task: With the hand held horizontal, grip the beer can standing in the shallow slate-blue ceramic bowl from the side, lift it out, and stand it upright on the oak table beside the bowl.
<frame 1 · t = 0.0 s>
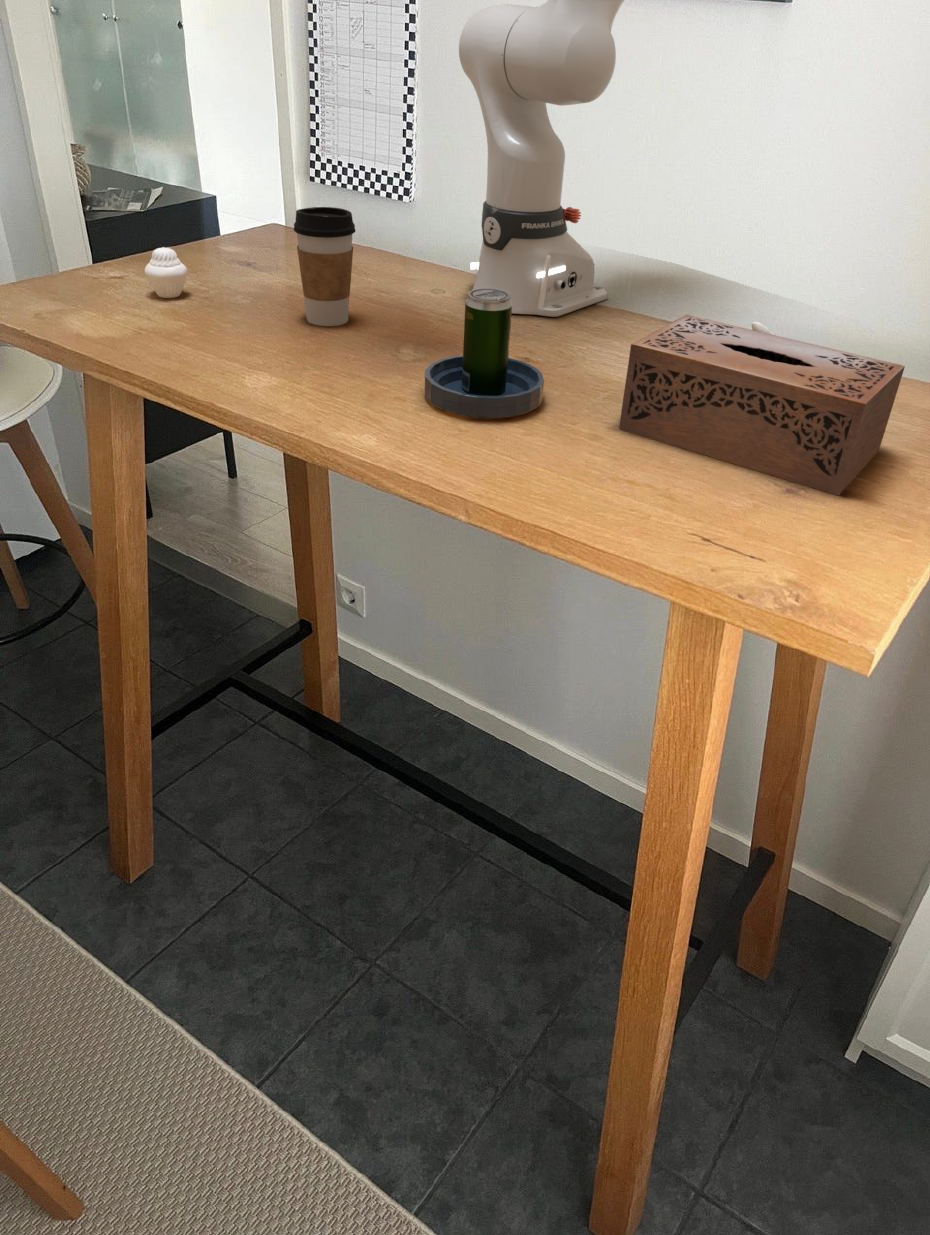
muffin: (169, 296, 148), on the table
bowl: (483, 398, 119), on the table
coffee cup: (327, 321, 141), on the table
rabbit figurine: (764, 368, 134), on the table
tissue box cover: (747, 441, 113), on the table
beer can: (483, 396, 119), resting on bowl
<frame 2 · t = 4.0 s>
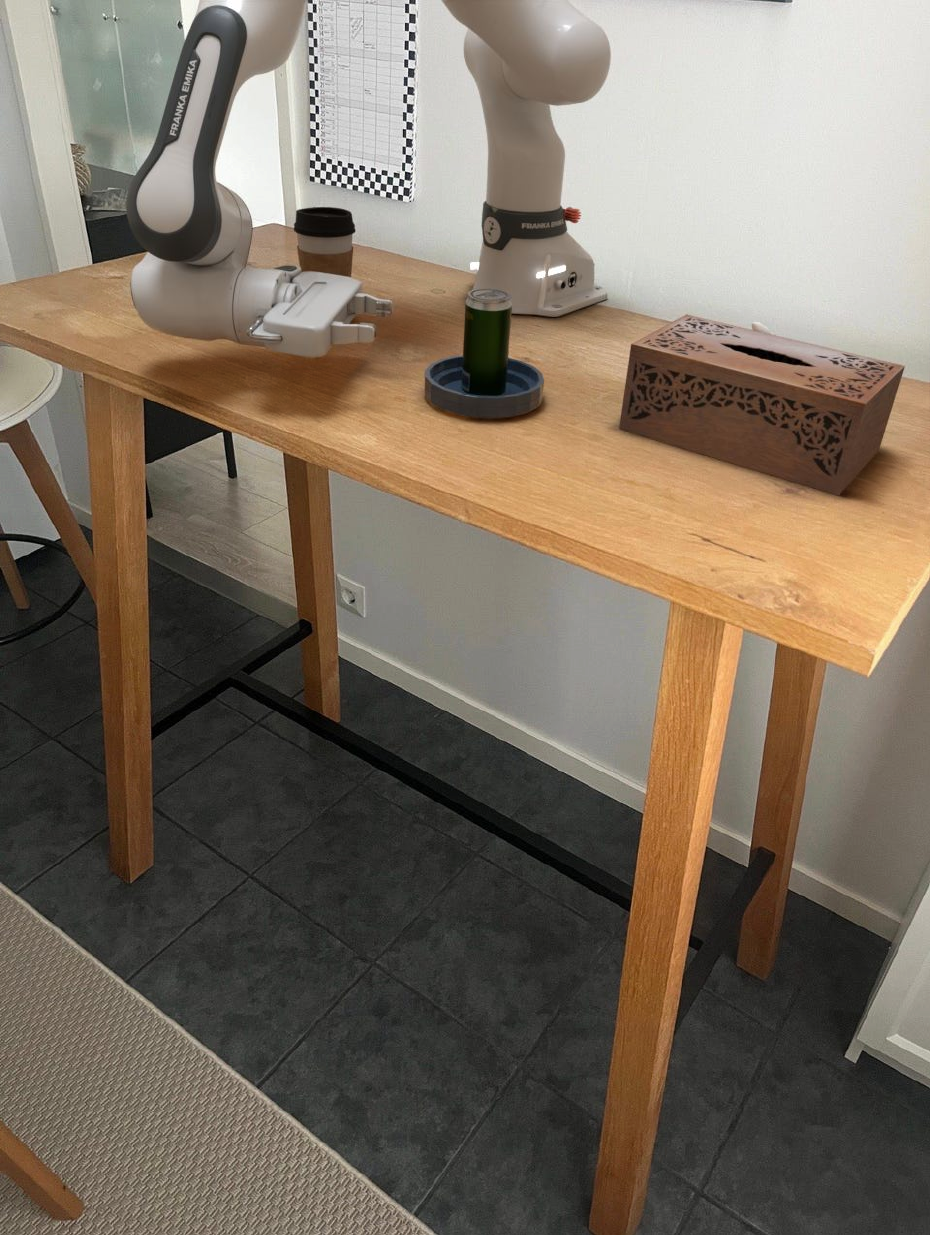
hand: (383, 321, 116), 8 cm above the table, tool horizontal, fingers open, 8 cm apart
nothing on the table moved.
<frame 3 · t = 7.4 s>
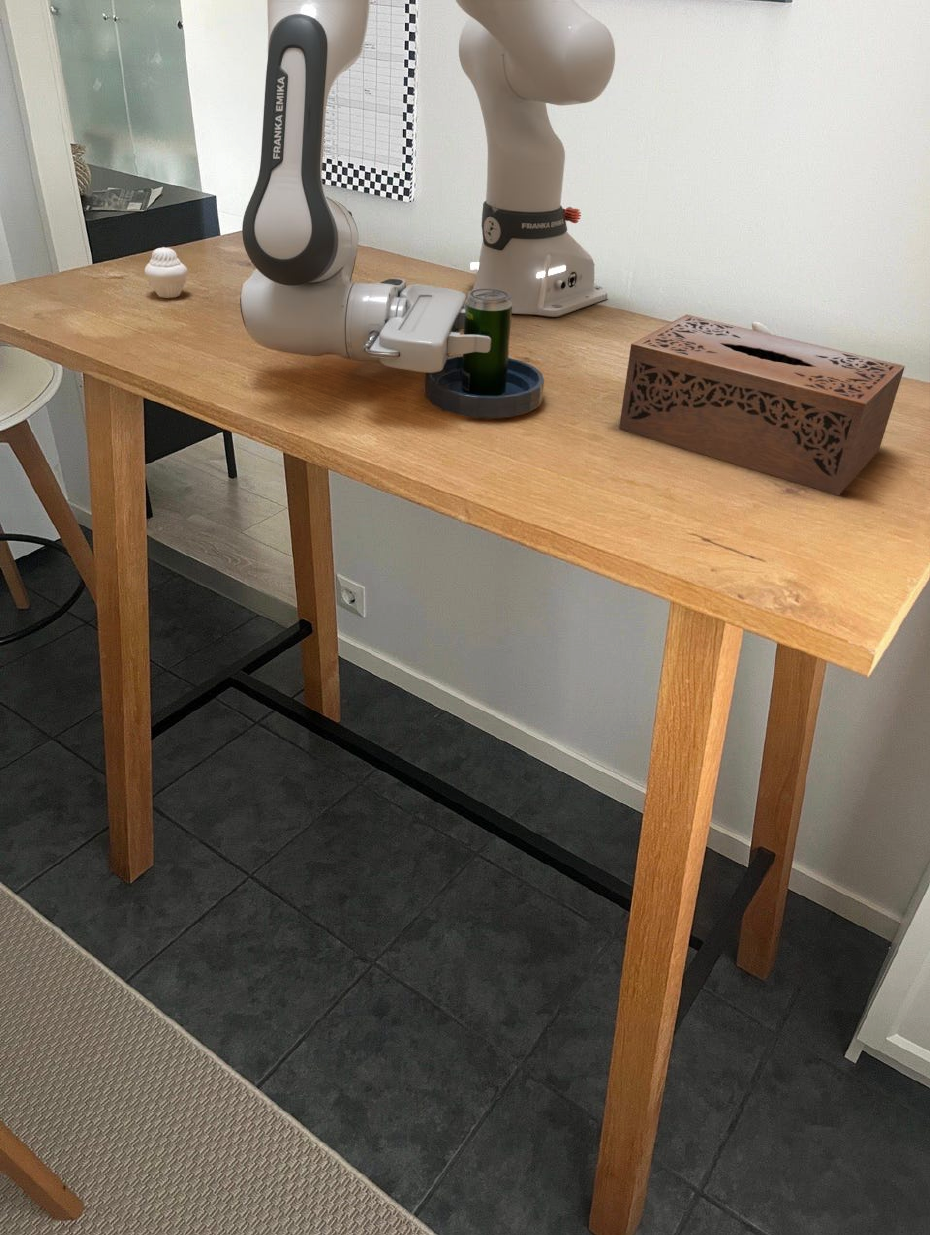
hand: (494, 334, 115), 8 cm above the table, tool horizontal, fingers closed on beer can, 5 cm apart
beer can: (483, 396, 119), resting on bowl, touching gripper
everything else where it was.
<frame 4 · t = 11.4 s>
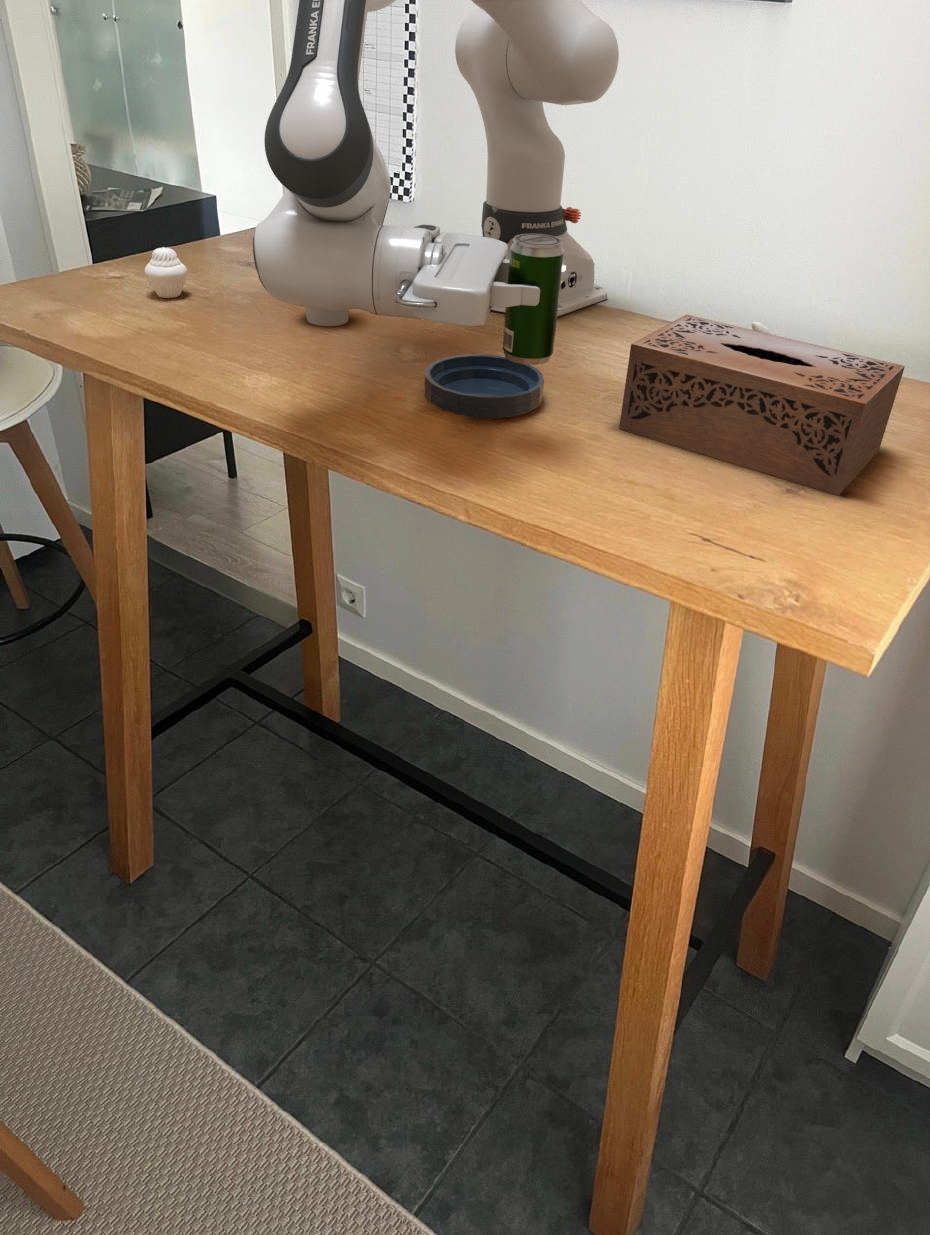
hand: (542, 286, 100), 17 cm above the table, tool horizontal, fingers closed on beer can, 5 cm apart
beer can: (527, 358, 105), point 9 cm above the table, touching gripper
everything else where it was.
when the fingers open (8 cm above the table, at t = 15.5 s): beer can stays where it is, on the table.
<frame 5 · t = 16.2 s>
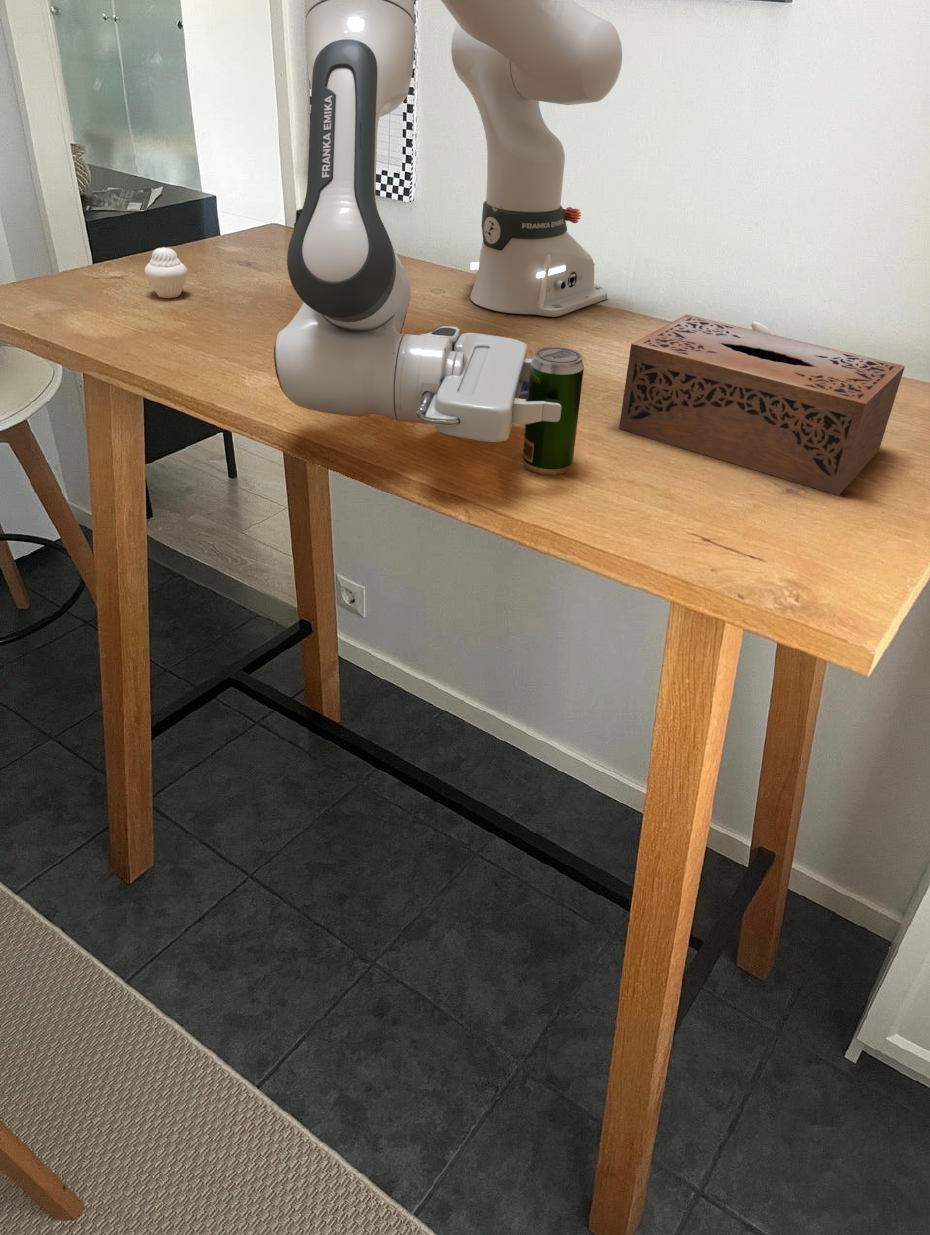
hand: (564, 393, 100), 8 cm above the table, tool horizontal, fingers open, 8 cm apart
beer can: (546, 466, 105), on the table
everything else where it was.
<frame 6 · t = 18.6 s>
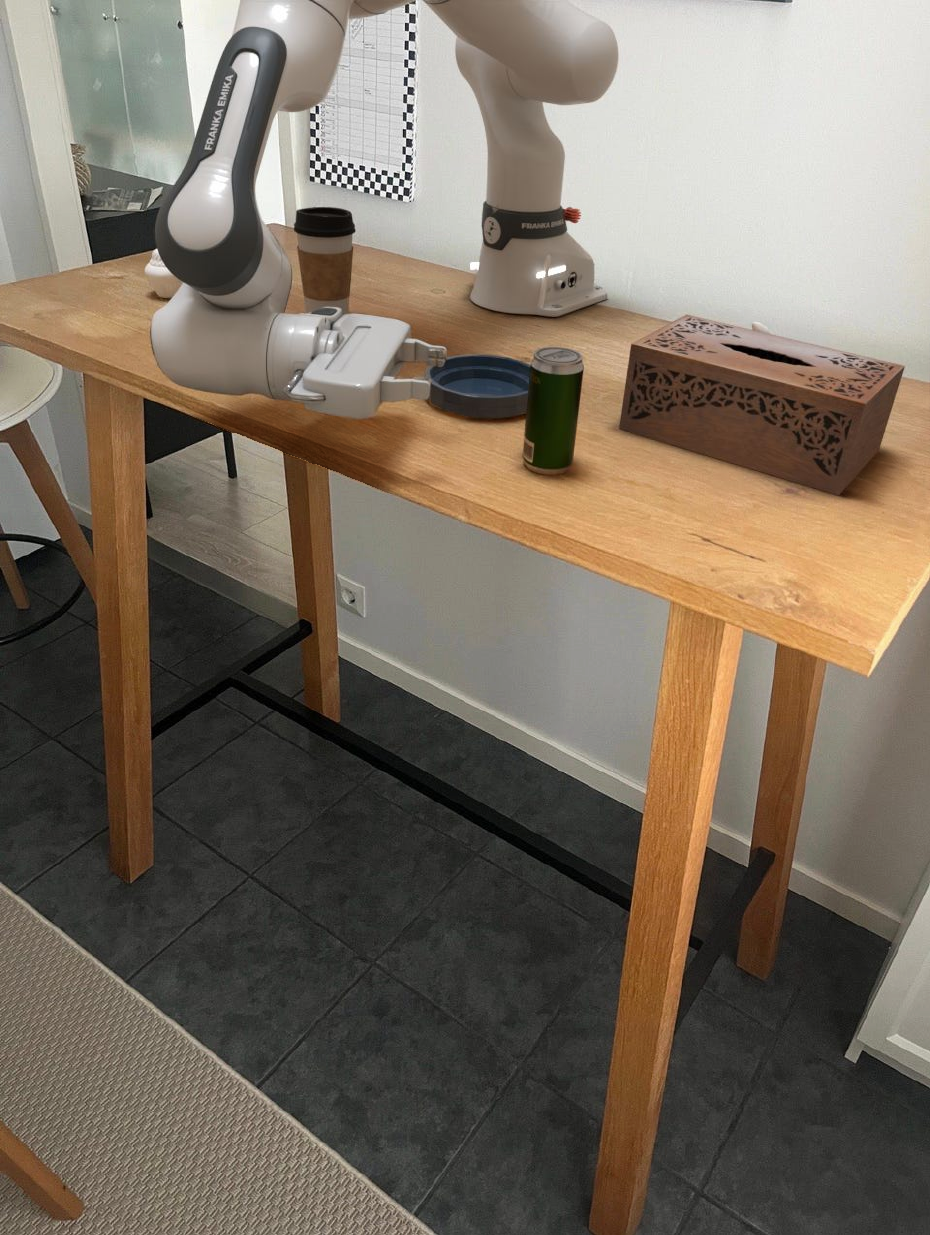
hand: (438, 372, 101), 9 cm above the table, tool horizontal, fingers open, 8 cm apart
nothing on the table moved.
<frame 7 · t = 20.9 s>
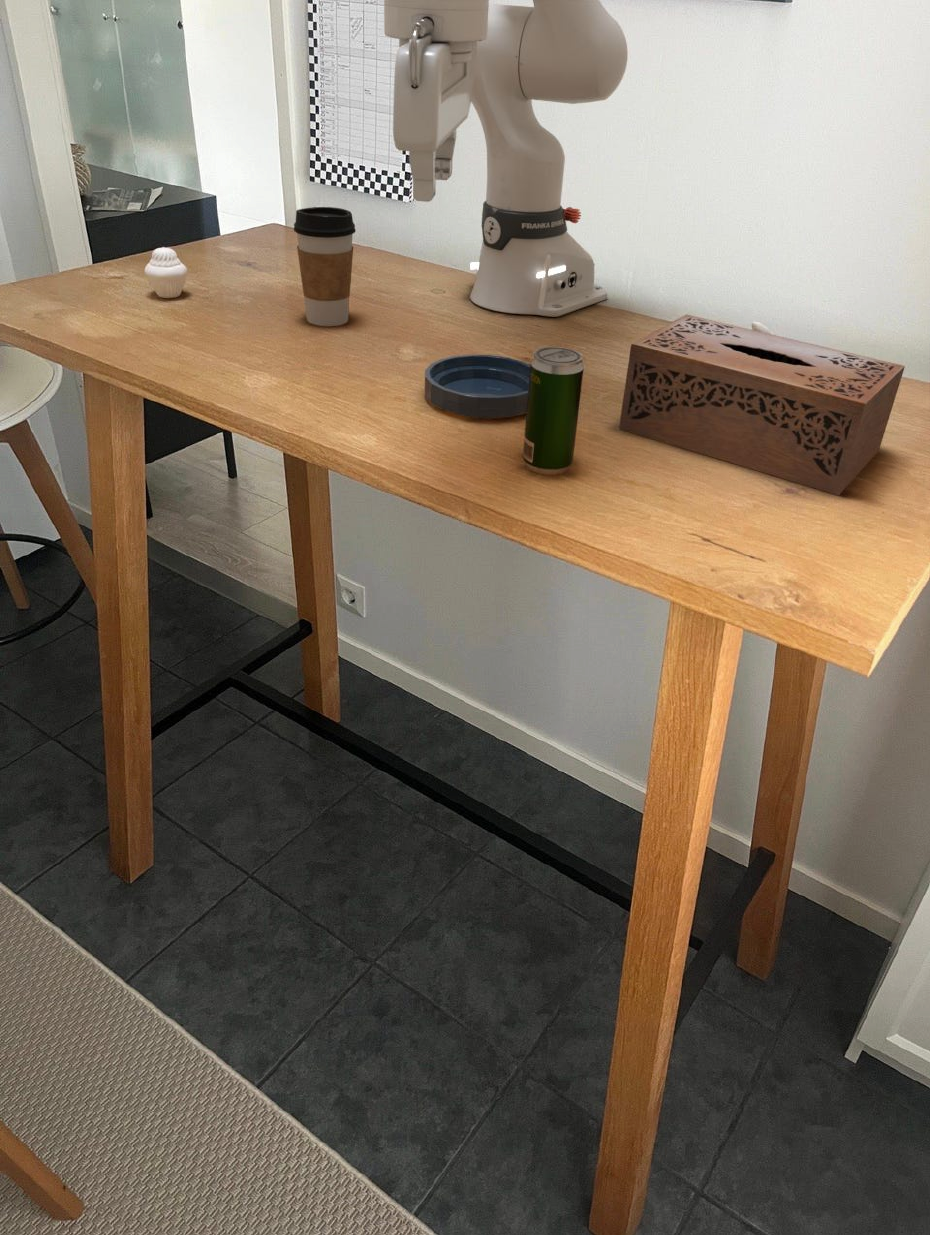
hand: (433, 188, 91), 27 cm above the table, tool pointing down, fingers open, 8 cm apart
nothing on the table moved.
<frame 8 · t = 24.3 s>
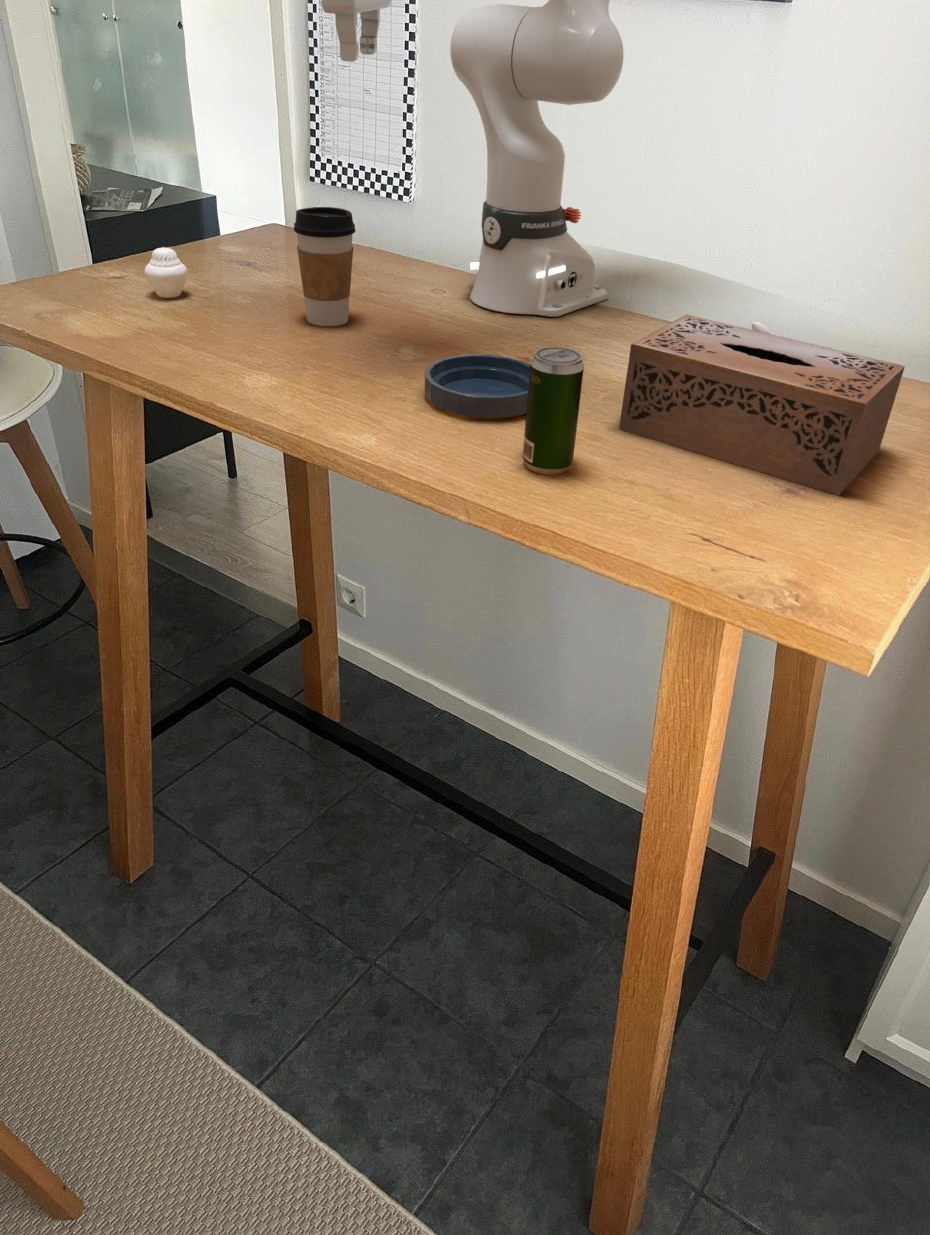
hand: (359, 57, 113), 34 cm above the table, tool pointing down, fingers open, 8 cm apart
nothing on the table moved.
at the end: beer can inside the target area (0.1 cm from its centre), on the table; beer can tilted 0°; beer can touching table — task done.
